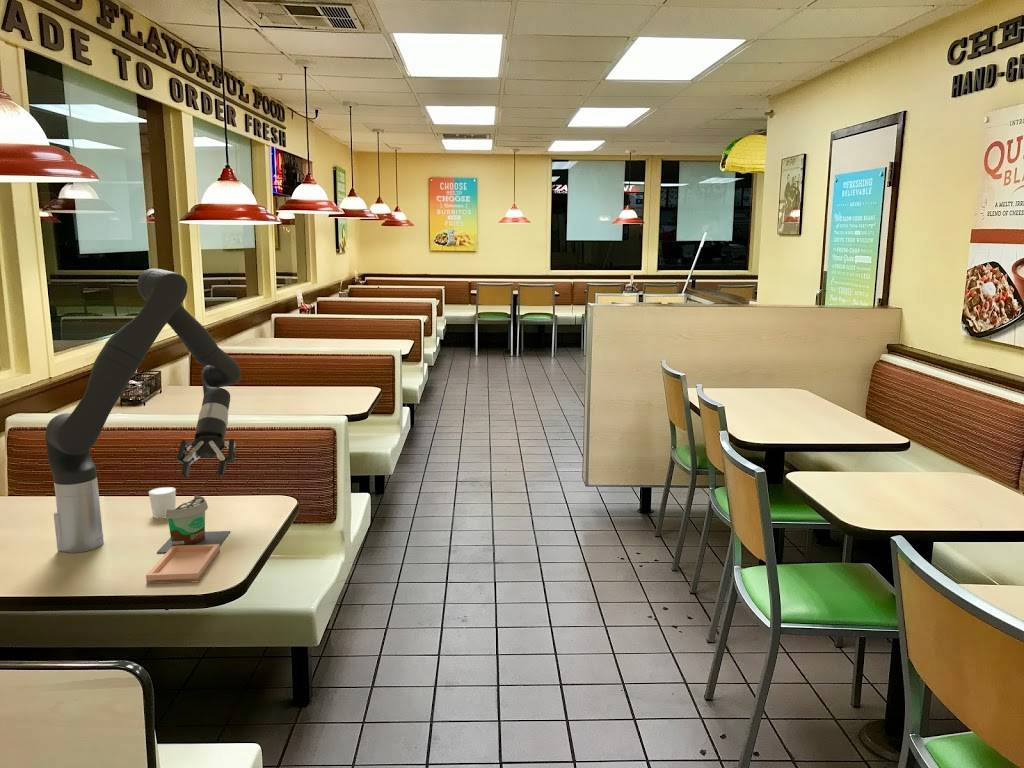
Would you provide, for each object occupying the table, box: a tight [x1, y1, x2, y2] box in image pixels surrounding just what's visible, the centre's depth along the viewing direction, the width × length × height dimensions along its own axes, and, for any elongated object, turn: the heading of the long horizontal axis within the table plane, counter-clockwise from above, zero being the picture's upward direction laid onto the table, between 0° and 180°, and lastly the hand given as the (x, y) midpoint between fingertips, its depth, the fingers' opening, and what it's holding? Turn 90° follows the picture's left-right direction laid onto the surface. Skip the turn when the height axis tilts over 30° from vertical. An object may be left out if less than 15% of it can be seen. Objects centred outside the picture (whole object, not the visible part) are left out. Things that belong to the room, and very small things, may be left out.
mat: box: [156, 530, 231, 554], centre depth 193 cm, size 14×13×1 cm
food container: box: [165, 494, 209, 546], centre depth 192 cm, size 12×6×10 cm, turn 168°
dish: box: [145, 544, 221, 585], centre depth 178 cm, size 11×17×2 cm, turn 5°
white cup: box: [148, 486, 177, 518], centre depth 213 cm, size 7×7×7 cm
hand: (202, 476), depth 201 cm, fingers open, 8 cm apart
